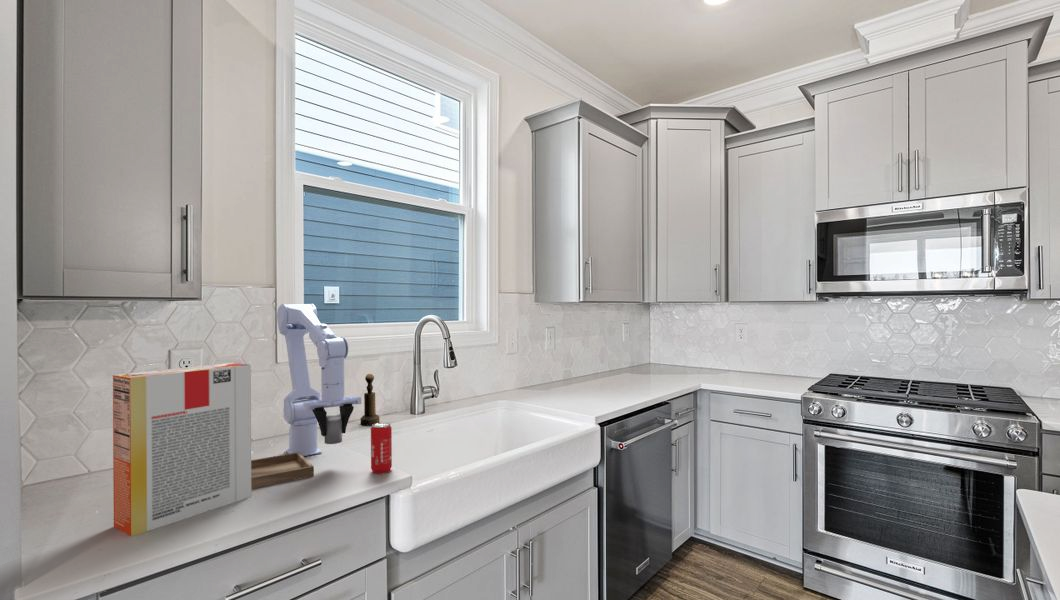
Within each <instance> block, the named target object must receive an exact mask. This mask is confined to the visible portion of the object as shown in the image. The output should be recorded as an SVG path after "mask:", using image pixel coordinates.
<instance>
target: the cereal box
mask: <svg viewBox="0 0 1060 600" xmlns="http://www.w3.org/2000/svg"><path fill="white" fill-rule="evenodd" d="M251 368H252V367H251V364H246V363H236V362H228V363H218V364H209V365H206V364H205V365H198V366H188V367H180V368H169V369H160V370H150V371H149V370H148V371H140V372H138V371H137V372H129V373H121V374H119V373H118V374H113V375H112V414H113V415H112V429H113V430H112V438H113V439H112V442H113V443H112V447H113V449H112V453H113V455H112V456H113V457H112V458H113V459H112V461H113V462H112V464H113V467H112V469H113V473H112V474H113V475H112V476H113V478H112V479H113V527H114V528H116V529H117V530H118V531H119V530H120V531H121V532H123V533H125V534H126V535H127V536H130V537H134V536H136V535H139V534H142V533H145V532H149V531H151V530H155V529H158V528H160V527H164V526H167V525H170V524H173V523H176V522H178V521H183V520H185V519H189V518H190V517H191V518H192V517H193V516H197V515H201V514H204V513H206V512H210V511H213V510H216V509H217V508H222V507H224V506H227V505H231V504H234V503H236V502H240V501H242V500H246V499H248V498H252V489H251V460H252V398H251V397H252V396H251V395H252V389H251V387H252V385H251V381H252V380H251V379H252V378H251V377H252V376H251V375H252V372H251V371H252V369H251ZM209 510H210V511H209Z"/></svg>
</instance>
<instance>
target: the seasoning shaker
mask: <svg viewBox="0 0 1060 600" xmlns="http://www.w3.org/2000/svg"><path fill="white" fill-rule="evenodd" d="M342 442H343V433H342V418H341V414H340V413H332V414H327V415H326V436H324V444H326V445H336V444H340V443H342Z"/></svg>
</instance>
